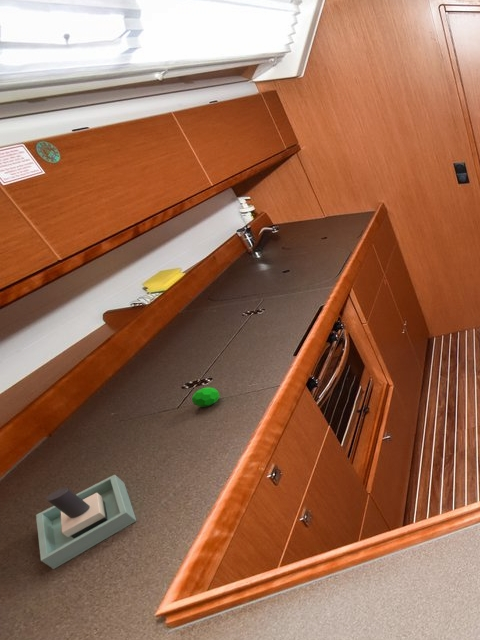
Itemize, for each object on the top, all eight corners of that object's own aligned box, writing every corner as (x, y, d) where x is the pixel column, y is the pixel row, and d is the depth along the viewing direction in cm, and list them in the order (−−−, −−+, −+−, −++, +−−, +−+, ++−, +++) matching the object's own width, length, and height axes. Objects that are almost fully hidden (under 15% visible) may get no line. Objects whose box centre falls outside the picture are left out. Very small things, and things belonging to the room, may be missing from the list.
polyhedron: (209, 396, 111) (199, 384, 109) (228, 395, 111) (218, 383, 109) (193, 411, 107) (182, 398, 104) (212, 410, 107) (201, 397, 104)
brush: (70, 518, 82) (36, 493, 77) (106, 500, 85) (75, 474, 81) (72, 540, 78) (36, 515, 74) (109, 520, 81) (77, 494, 77)
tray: (47, 523, 82) (35, 514, 80) (124, 482, 89) (114, 474, 88) (53, 569, 74) (40, 560, 73) (136, 520, 82) (126, 512, 80)
